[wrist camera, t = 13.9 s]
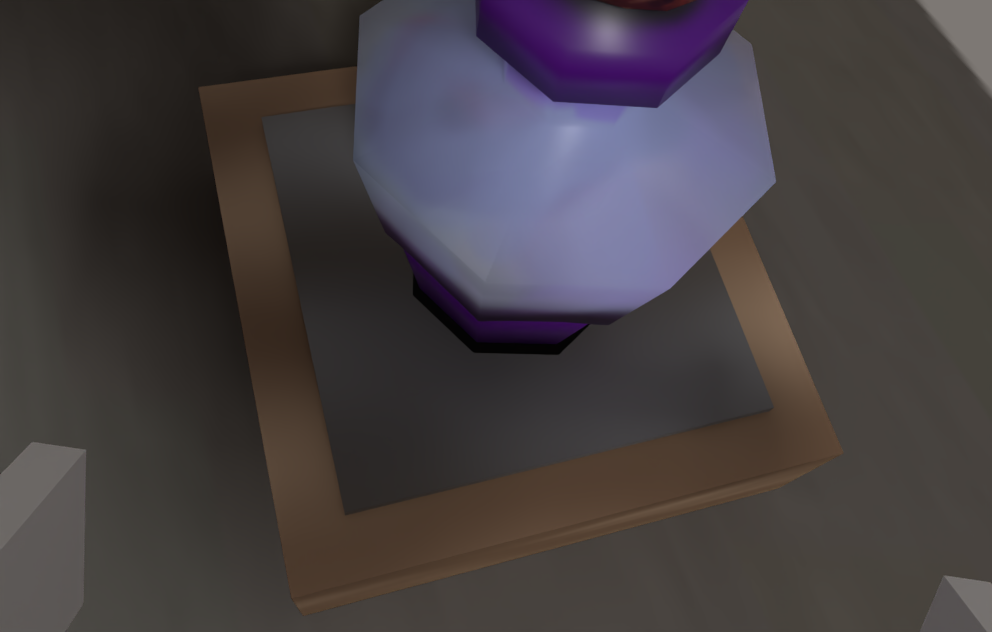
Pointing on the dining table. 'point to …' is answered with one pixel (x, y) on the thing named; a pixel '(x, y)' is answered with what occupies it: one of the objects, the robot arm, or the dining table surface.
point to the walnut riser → (473, 378)
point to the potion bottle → (555, 154)
